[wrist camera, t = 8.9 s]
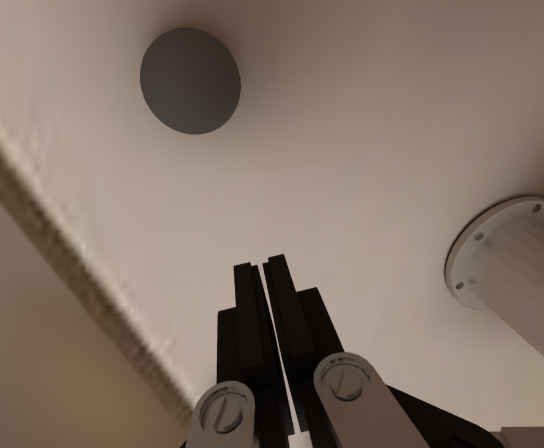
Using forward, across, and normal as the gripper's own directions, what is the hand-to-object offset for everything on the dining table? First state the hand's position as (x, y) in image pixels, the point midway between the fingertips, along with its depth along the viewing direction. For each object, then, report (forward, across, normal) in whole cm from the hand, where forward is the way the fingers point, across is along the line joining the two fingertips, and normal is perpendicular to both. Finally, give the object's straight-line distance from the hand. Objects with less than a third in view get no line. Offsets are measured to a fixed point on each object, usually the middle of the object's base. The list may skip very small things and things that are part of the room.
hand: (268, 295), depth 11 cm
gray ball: (+12, +2, -6) cm, 14 cm away
